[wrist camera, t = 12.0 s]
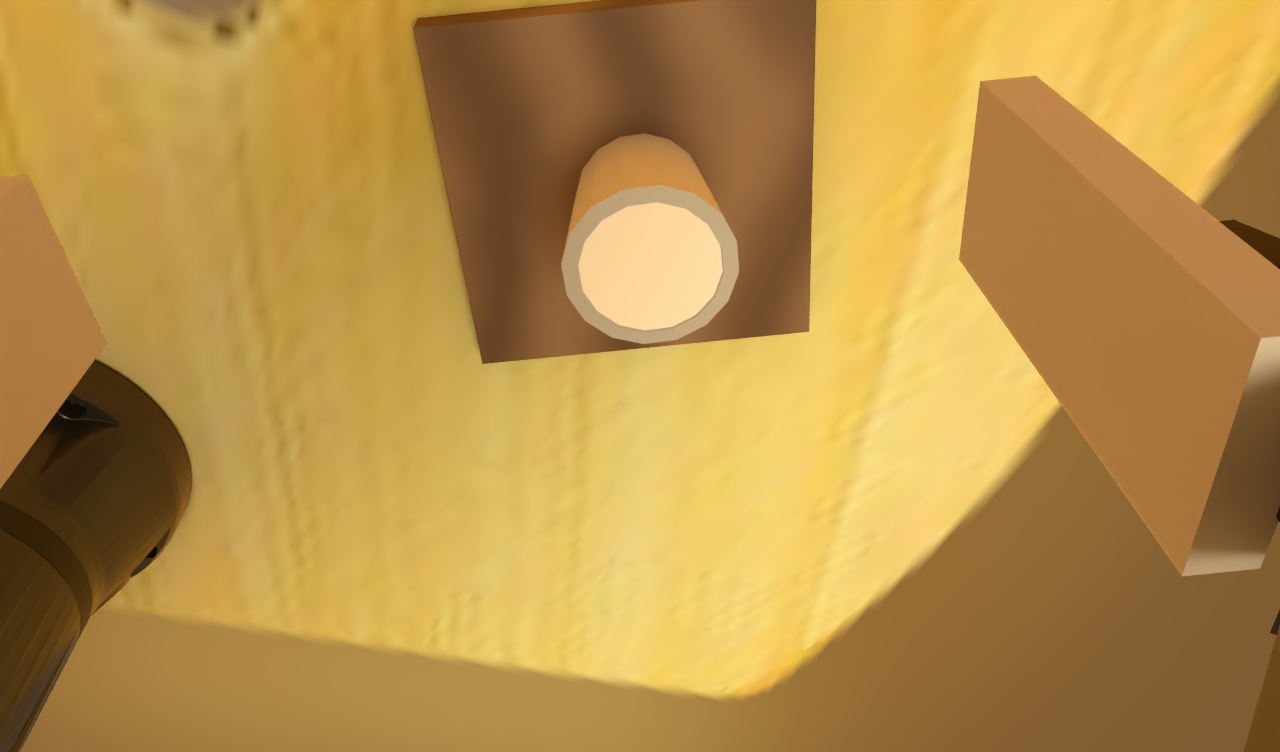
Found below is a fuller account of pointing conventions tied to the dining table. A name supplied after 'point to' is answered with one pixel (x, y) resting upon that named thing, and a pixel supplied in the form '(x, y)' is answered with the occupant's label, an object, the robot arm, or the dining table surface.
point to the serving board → (600, 113)
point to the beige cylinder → (647, 243)
